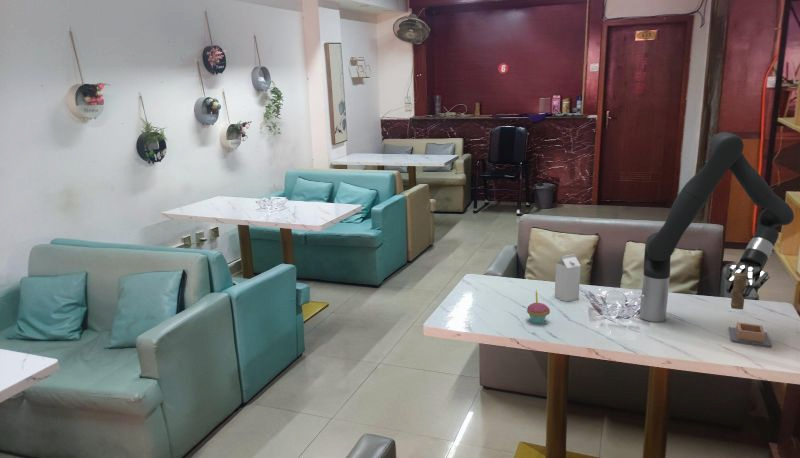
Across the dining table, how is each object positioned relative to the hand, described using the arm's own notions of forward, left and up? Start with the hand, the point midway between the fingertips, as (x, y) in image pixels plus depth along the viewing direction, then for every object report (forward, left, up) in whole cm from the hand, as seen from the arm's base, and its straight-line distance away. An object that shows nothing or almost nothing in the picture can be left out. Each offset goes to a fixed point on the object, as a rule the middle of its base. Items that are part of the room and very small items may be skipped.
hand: (735, 293), depth 205 cm
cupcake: (-65, -7, -18) cm, 68 cm away
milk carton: (-60, +22, -18) cm, 66 cm away
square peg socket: (+7, +6, -18) cm, 20 cm away
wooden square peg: (+1, +2, -5) cm, 6 cm away
